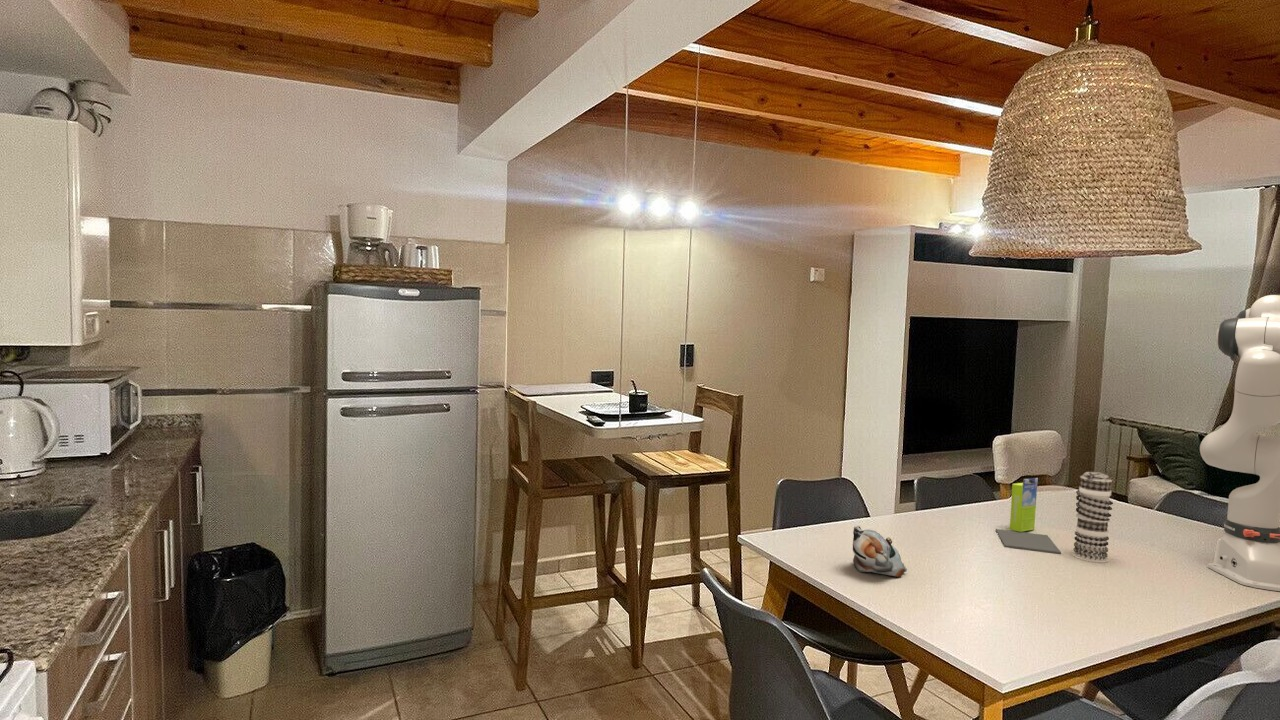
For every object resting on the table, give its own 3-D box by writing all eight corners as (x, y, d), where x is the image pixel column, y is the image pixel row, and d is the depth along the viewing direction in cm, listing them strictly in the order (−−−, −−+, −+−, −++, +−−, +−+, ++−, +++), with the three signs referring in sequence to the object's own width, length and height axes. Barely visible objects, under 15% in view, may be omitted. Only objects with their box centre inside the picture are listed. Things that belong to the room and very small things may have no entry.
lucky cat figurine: (915, 578, 186) (908, 537, 180) (874, 596, 185) (866, 555, 179) (883, 544, 200) (876, 505, 194) (845, 561, 198) (836, 522, 193)
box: (1023, 527, 241) (1026, 475, 241) (1035, 530, 238) (1039, 477, 238) (1008, 530, 235) (1011, 477, 235) (1021, 532, 231) (1024, 479, 231)
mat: (1060, 554, 212) (1061, 552, 212) (1004, 547, 217) (1004, 545, 217) (1047, 536, 230) (1047, 535, 230) (995, 530, 235) (995, 529, 235)
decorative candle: (1081, 551, 216) (1087, 469, 215) (1114, 560, 208) (1121, 475, 207) (1065, 555, 211) (1071, 471, 210) (1099, 564, 204) (1105, 477, 202)
